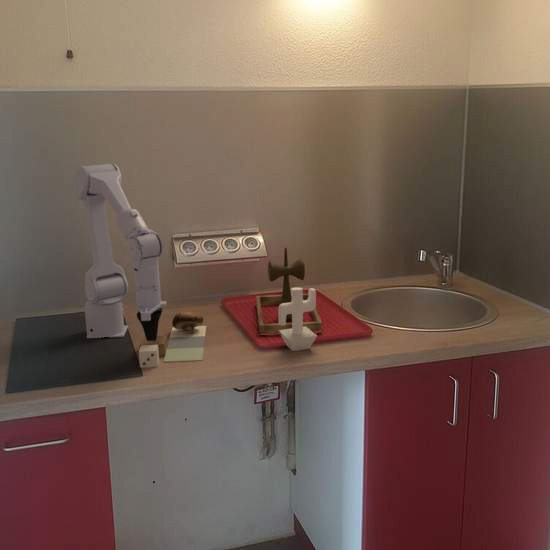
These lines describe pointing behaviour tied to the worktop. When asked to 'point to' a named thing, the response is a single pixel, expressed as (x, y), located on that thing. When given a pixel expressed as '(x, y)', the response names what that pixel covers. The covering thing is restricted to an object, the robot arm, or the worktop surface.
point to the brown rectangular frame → (275, 328)
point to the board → (185, 345)
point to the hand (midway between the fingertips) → (151, 339)
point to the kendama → (286, 276)
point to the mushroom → (187, 321)
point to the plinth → (156, 343)
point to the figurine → (297, 320)
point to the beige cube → (148, 356)
